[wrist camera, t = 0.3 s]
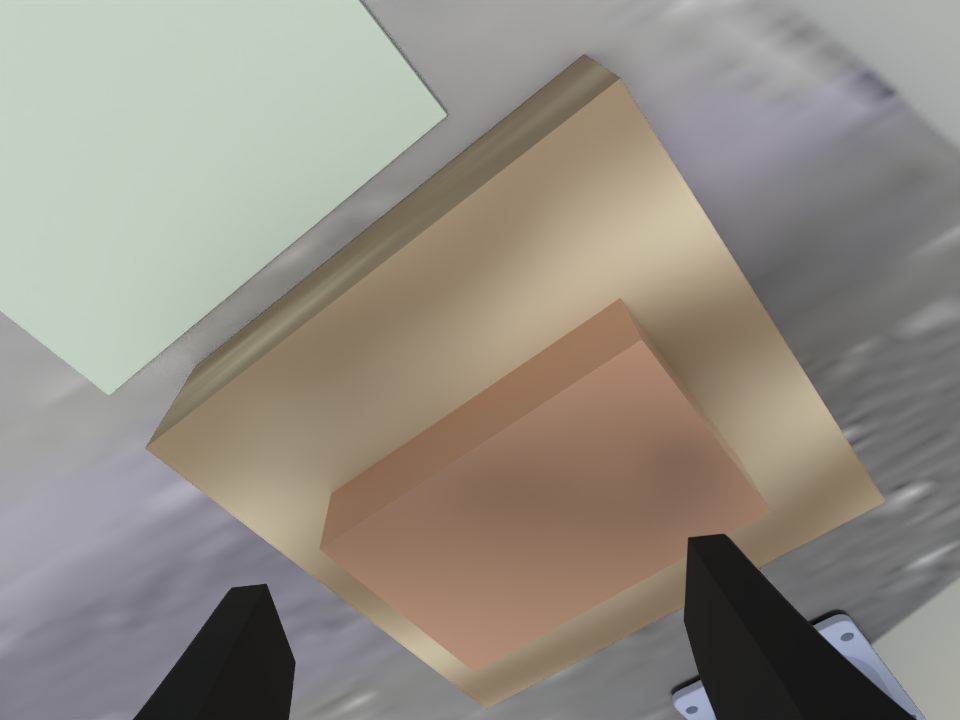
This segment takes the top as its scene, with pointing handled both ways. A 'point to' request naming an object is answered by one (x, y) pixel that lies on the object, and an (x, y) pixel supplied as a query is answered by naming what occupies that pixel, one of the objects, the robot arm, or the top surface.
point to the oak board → (508, 354)
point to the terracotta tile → (542, 494)
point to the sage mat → (179, 156)
